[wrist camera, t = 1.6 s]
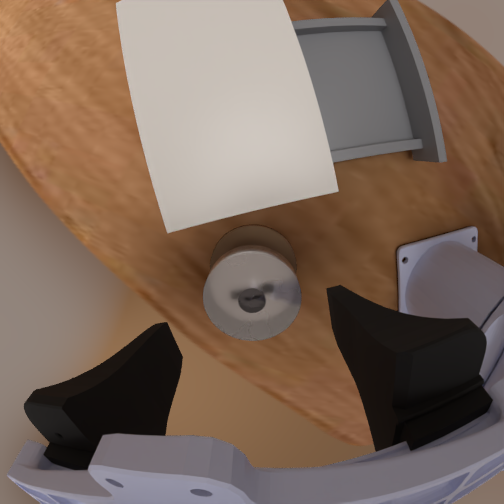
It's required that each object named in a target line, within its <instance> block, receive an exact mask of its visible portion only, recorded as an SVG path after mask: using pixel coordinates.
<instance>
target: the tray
mask: <svg viewBox="0 0 504 504" xmlns="http://www.w3.org/2000/svg"><path fill="white" fill-rule="evenodd" d="M292 25H293V28H294V30H295V33H296V36H297V39H298V41H299V44H300V47H301V50H302V53H303V56H304V59H305V62H306V65H307V68H308V71H309V75H310V78H311V81H312V84H313V88H314V91H315V95H316V98H317V102H318V105H319V109H320V113H321V116H322V120H323V124H324V128H325V132H326V136H327V140H328V144H329V148H330V153H331V157H332V162H333V163H334V162H339V161H344V160H350V159H355V158H361V157H367V156H373V155H379V154H386V153H392V152H399V151H406V150H412V155H413V160H415V161H429V162H446V161H447V158H446V151H445V146H444V140H443V135H442V130H441V125H440V120H439V116H438V112H437V107H436V103H435V100H434V96H433V92H432V89H431V85H430V82H429V78H428V75H427V72H426V69H425V66H424V63H423V60H422V57H421V54H420V52H419V49H418V46H417V44H416V41H415V39H414V36H413V34H412V31H411V29H410V26H409V24H408V22H407V20H406V17H405V15H404V13H403V11H402V9H401V7H400V5H399V3H398V1H397V0H387V1H386V2H385V3H384V4H383V5H382V6H381V7H380V8H379V9H378V10H377V12H376V13H375V14H374V15H373V16H372V17H371V18H325V19H312V20H301V21H292Z"/></svg>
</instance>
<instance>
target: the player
mask: <svg viewBox="0 0 504 504" xmlns="http://www.w3.org/2000/svg"><path fill="white" fill-rule="evenodd" d="M116 9H117V17H118V25H119V32H120V38H121V45H122V51H123V57H124V63H125V68H126V74H127V79H128V84H129V89H130V94H131V99H132V103H133V108H134V113H135V117H136V121H137V126H138V130H139V134H140V138H141V142H142V146H143V150H144V154H145V158H146V162H147V165H148V169H149V173H150V176H151V180H152V184H153V187H154V191H155V194H156V198H157V201H158V204H159V208H160V211H161V214H162V218H163V221H164V224H165V227H166V230H167V233H170V232H174V231H178V230H181V229H185V228H189V227H192V226H196V225H200V224H204V223H207V222H211V221H215V220H219V219H223V218H227V217H231V216H235V215H239V214H243V213H247V212H251V211H255V210H259V209H263V208H268V207H272V206H276V205H280V204H285V203H289V202H293V201H298V200H302V199H307V198H311V197H316V196H320V195H325V194H330V193H334V192H339V190H338V185H337V180H336V175H335V171H334V166H333V162H332V157H331V153H330V148H329V144H328V140H327V136H326V132H325V128H324V124H323V120H322V116H321V113H320V109H319V105H318V102H317V98H316V95H315V91H314V88H313V84H312V81H311V78H310V75H309V71H308V68H307V65H306V62H305V59H304V56H303V53H302V50H301V47H300V44H299V41H298V39H297V36H296V33H295V30H294V28H293V25H292V22H291V20H290V17H289V14H288V12H287V9H286V7H285V4H284V2H283V0H122V1H120V2H118V3H116Z"/></svg>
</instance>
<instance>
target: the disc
mask: <svg viewBox="0 0 504 504" xmlns="http://www.w3.org/2000/svg"><path fill="white" fill-rule="evenodd" d="M203 303H204V307H205V311H206V313H207V315H208V317H209V318H210V320H211V321H212V322H213V324H214V325H215V326H216V327H217V328H218V329H220V330H221V331H222V332H224V333H226V334H227V335H229V336H232V337H234V338H237V339H241V340H249V341H257V340H264V339H268V338H271V337H274V336H276V335H278V334H280V333H281V332H283V331H284V330H285V329H286V328H288V327H289V326H290V325H291V323H292V322H293V321H294V319H295V318H296V316H297V314H298V312H299V309H300V305H301V289H300V286H299V282H298V279H297V276H296V273H295V271H294V269H293V267H292V265H291V264H290V263H289V261H288V260H287V259H286V258H285V257H284V256H283V255H281V254H280V253H278V252H277V251H275V250H273V249H270V248H267V247H264V246H259V245H246V246H240V247H237V248H234V249H232V250H230V251H228V252H226V253H225V254H223V255H222V256H221V257H220V258H219V259H218V260H217V261H216V262H215V264H214V265H213V267H212V269H211V271H210V273H209V275H208V278H207V280H206V283H205V286H204V291H203Z"/></svg>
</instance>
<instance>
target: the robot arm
mask: <svg viewBox="0 0 504 504" xmlns="http://www.w3.org/2000/svg"><path fill="white" fill-rule="evenodd" d="M472 238H473V240H472ZM477 242H478V231H477V228H476V227H474V226H470V227H467V228H464V229H460V230H457V231H453V232H450V233H446V234H443V235H439V236H436V237H432V238H428V239H425V240H421V241H417V242H414V243H410V244H406V245H403V246H400V247H399V248H398V250H397V266H398V293H399V312H398V311H395V310H391V309H388V308H386V307H383V306H381V305H378V304H376V303H373V302H371V301H369V300H367V299H365V298H363V297H361V296H359V295H357V294H356V293H354V292H352V291H350V290H348V289H347V288H345V287H343V286H341V285H339V286H335V287H331V288H327V296H328V302H329V309H330V316H331V324H332V329H333V332H334V335H335V339H336V342H337V345H338V347H339V349H340V351H341V353H342V355H343V357H344V360H345V362H346V364H347V366H348V368H349V370H350V372H351V374H352V376H353V378H354V380H355V383H356V385H357V388H358V390H359V393H360V396H361V400H362V403H363V406H364V409H365V413H366V416H367V420H368V423H369V427H370V431H371V434H372V438H373V442H374V446H375V450H376V452H374V453H370V454H367V455H364V456H360V457H357V458H353V459H350V460H346V461H342V462H338V463H334V464H330V465H326V466H321V467H307V468H259V467H257V468H256V467H253V466H252V465H251V464H250V462H249V460H248V459H247V457H246V455H245V454H244V453H242V452H241V451H240V450H239V449H237V448H236V447H235V446H234V445H232V444H231V443H227V442H225V441H222V440H219V439H216V438H213V437H204V436H194V435H186V436H165V434H166V427H167V420H168V416H169V412H170V408H171V405H172V401H173V398H174V395H175V392H176V388H177V384H178V381H179V378H180V373H181V368H182V359H183V356H182V354H181V352H180V350H179V348H178V345H177V343H176V341H175V339H174V337H173V335H172V332H171V330H170V328H169V326H168V323H167V322H164V323H158V324H155V325H153V326H151V327H150V328H148V329H147V330H146V331H144V332H143V333H142V334H140V335H139V336H138V337H137V338H135V339H134V340H133V341H132V342H130V343H129V344H128V345H127V346H125V347H124V348H123V349H121V350H120V351H119V352H117V353H116V354H115V355H113V356H112V357H110V358H109V359H108V360H106V361H104V362H103V363H101V364H100V365H98V366H96V367H95V368H93V369H91V370H89V371H87V372H85V373H83V374H81V375H79V376H77V377H75V378H72V379H70V380H67V381H65V382H62V383H59V384H56V385H52V386H49V387H45V388H41V389H36V390H35V391H33V393H32V394H31V395H30V397H29V398H28V399H27V401H26V402H25V403H24V410H25V413H26V415H27V416H28V418H29V420H30V421H31V422H32V424H33V425H34V426H35V427H36V428H37V429H38V430H39V431H40V433H41V434H42V435H43V436H44V437H45V438H46V439H47V440H48V441H49V442H50V443H49V445H48V447H46V446H44V445H43V444H41V443H38V442H35V441H32V440H27V441H26V443H25V445H24V446H23V448H22V449H21V451H20V453H19V454H18V456H17V458H16V459H15V461H14V463H13V465H12V466H11V468H10V470H9V471H8V474H7V476H8V477H9V478H10V479H11V480H12V481H13V482H15V483H16V484H17V485H18V486H19V487H20V488H22V489H23V490H24V491H25V492H27V493H28V494H29V495H30V496H32V497H33V498H34V499H36V500H37V501H38V502H40V503H41V504H452V503H454V502H455V501H457V500H459V499H460V498H462V497H464V496H465V495H467V494H468V493H470V492H471V491H473V490H475V489H476V488H478V487H479V486H481V485H482V484H484V483H485V482H487V481H488V480H489V479H491V478H492V477H494V476H495V475H496V474H498V473H499V472H501V471H504V267H503V266H501V265H500V264H498V263H496V262H494V261H493V260H491V259H489V258H487V257H486V256H484V255H482V254H480V253H478V252H477ZM404 257H406V259H405V261H404V262H402V259H403V258H404Z"/></svg>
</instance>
